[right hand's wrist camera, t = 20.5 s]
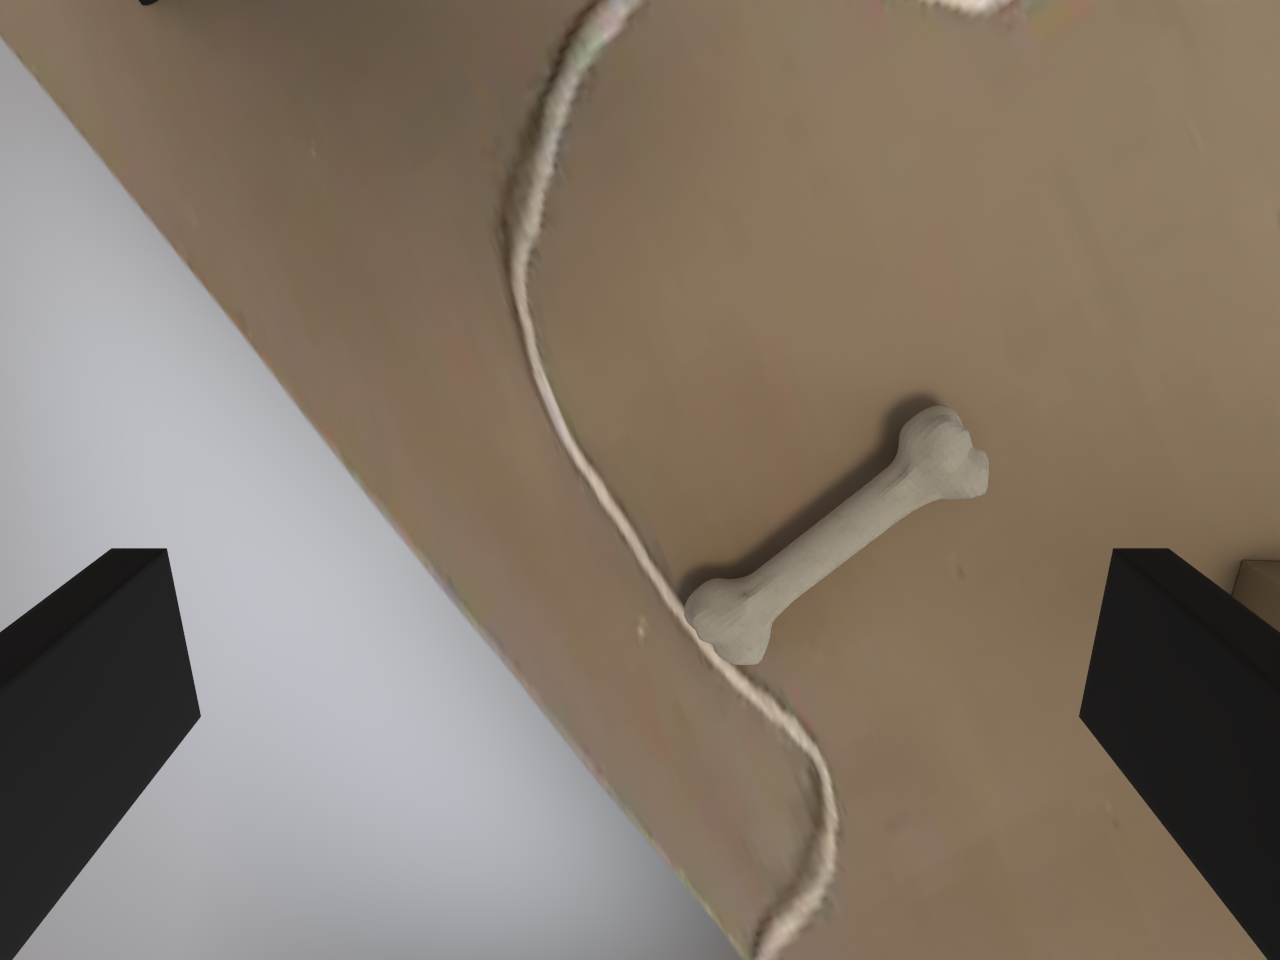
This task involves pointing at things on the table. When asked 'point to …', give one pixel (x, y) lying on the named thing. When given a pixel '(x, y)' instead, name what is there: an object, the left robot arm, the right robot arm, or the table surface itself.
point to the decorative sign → (147, 2)
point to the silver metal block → (1260, 589)
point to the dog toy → (840, 534)
